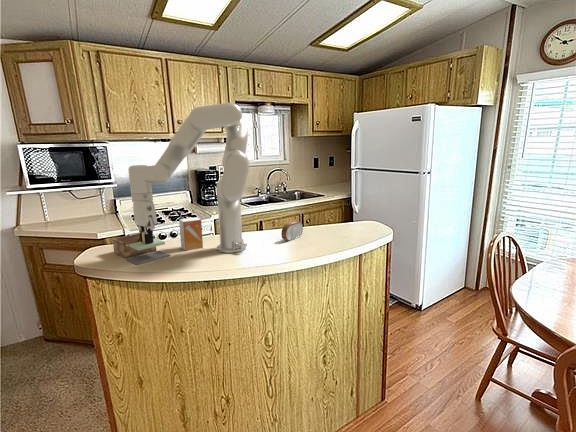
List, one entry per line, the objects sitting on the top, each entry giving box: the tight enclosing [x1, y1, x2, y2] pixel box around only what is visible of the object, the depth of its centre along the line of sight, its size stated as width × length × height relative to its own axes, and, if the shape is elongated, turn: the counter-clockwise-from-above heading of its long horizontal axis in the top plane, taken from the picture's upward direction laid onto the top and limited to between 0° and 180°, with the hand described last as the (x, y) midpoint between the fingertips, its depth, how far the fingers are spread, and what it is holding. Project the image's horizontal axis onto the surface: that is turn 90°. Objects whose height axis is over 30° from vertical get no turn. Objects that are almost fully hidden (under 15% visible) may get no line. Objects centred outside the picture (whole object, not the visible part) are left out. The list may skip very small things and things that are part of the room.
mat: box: [125, 250, 171, 266], centre depth 130 cm, size 9×14×1 cm, turn 140°
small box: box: [178, 216, 204, 251], centre depth 141 cm, size 8×6×13 cm
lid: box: [129, 231, 166, 251], centre depth 128 cm, size 8×11×6 cm
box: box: [112, 232, 157, 260], centre depth 136 cm, size 11×13×6 cm
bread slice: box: [281, 220, 304, 242], centre depth 154 cm, size 15×3×8 cm, turn 144°
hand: (147, 242), depth 129 cm, fingers closed on lid, 3 cm apart
